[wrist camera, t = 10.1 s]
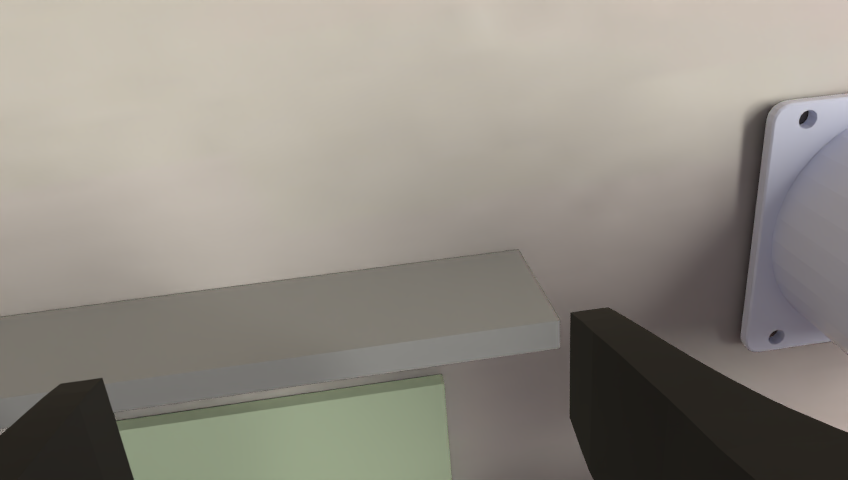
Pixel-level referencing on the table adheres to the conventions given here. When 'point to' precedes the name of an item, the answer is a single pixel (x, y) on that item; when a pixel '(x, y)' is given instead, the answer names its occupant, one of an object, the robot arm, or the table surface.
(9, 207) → the table surface
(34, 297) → the table surface
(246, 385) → the grey wall
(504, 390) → the table surface
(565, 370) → the table surface
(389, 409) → the green mat
